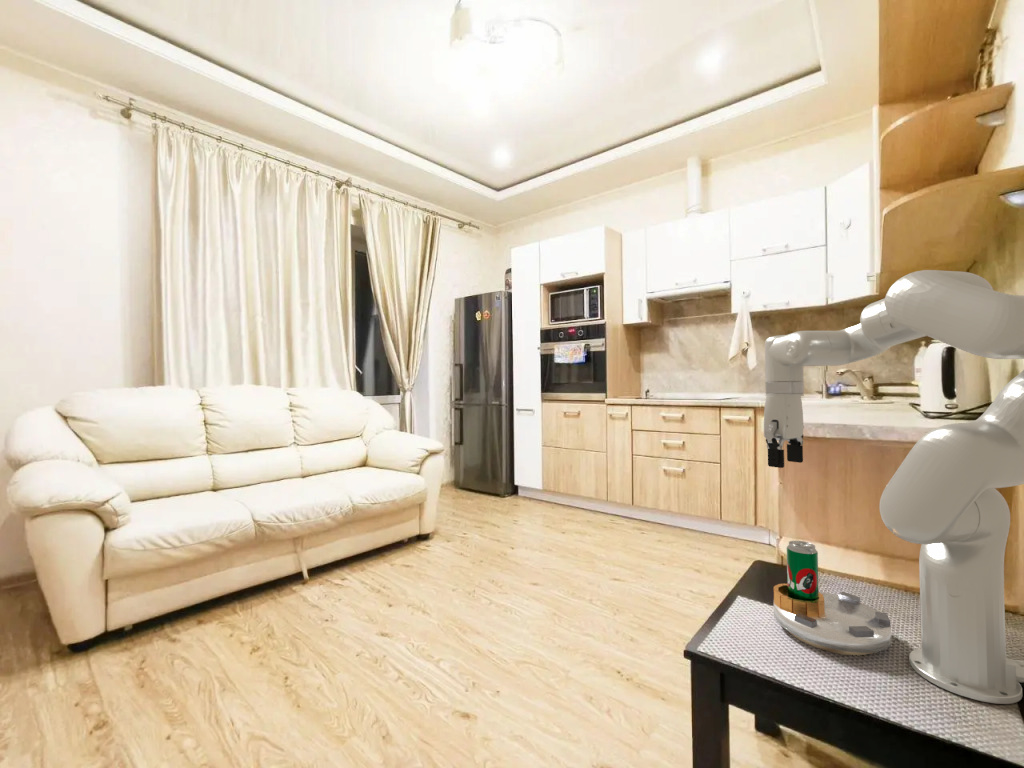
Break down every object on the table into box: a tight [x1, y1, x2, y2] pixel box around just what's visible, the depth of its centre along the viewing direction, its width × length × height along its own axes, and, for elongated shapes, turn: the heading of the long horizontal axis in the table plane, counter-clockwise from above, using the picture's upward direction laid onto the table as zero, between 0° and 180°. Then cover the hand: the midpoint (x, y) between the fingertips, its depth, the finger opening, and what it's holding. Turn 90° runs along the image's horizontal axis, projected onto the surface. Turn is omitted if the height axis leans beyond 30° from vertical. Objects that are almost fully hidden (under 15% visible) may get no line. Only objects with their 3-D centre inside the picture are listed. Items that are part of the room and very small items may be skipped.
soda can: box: [786, 540, 820, 601], centre depth 87 cm, size 5×5×12 cm
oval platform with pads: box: [773, 583, 892, 653], centre depth 85 cm, size 18×18×5 cm
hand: (785, 464), depth 103 cm, fingers open, 9 cm apart
